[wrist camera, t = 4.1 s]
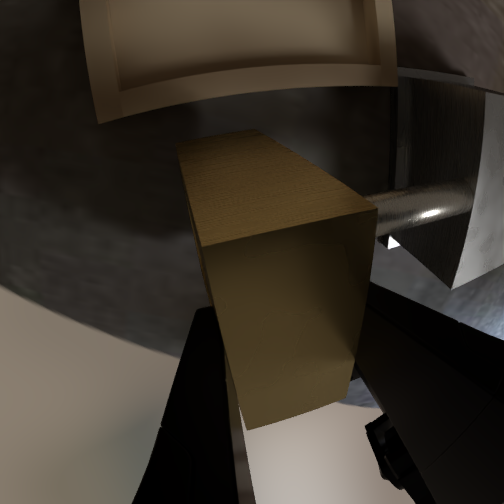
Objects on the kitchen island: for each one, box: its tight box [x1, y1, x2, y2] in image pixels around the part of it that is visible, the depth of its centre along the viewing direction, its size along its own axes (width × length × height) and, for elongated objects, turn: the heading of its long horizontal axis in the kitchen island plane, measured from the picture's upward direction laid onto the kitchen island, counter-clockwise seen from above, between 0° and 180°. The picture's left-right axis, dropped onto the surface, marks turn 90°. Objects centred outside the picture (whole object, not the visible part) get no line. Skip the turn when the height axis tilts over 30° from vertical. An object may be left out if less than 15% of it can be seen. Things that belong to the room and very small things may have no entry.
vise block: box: [362, 67, 504, 290], centre depth 14 cm, size 11×14×6 cm
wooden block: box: [175, 129, 378, 430], centre depth 10 cm, size 6×3×8 cm, turn 6°
